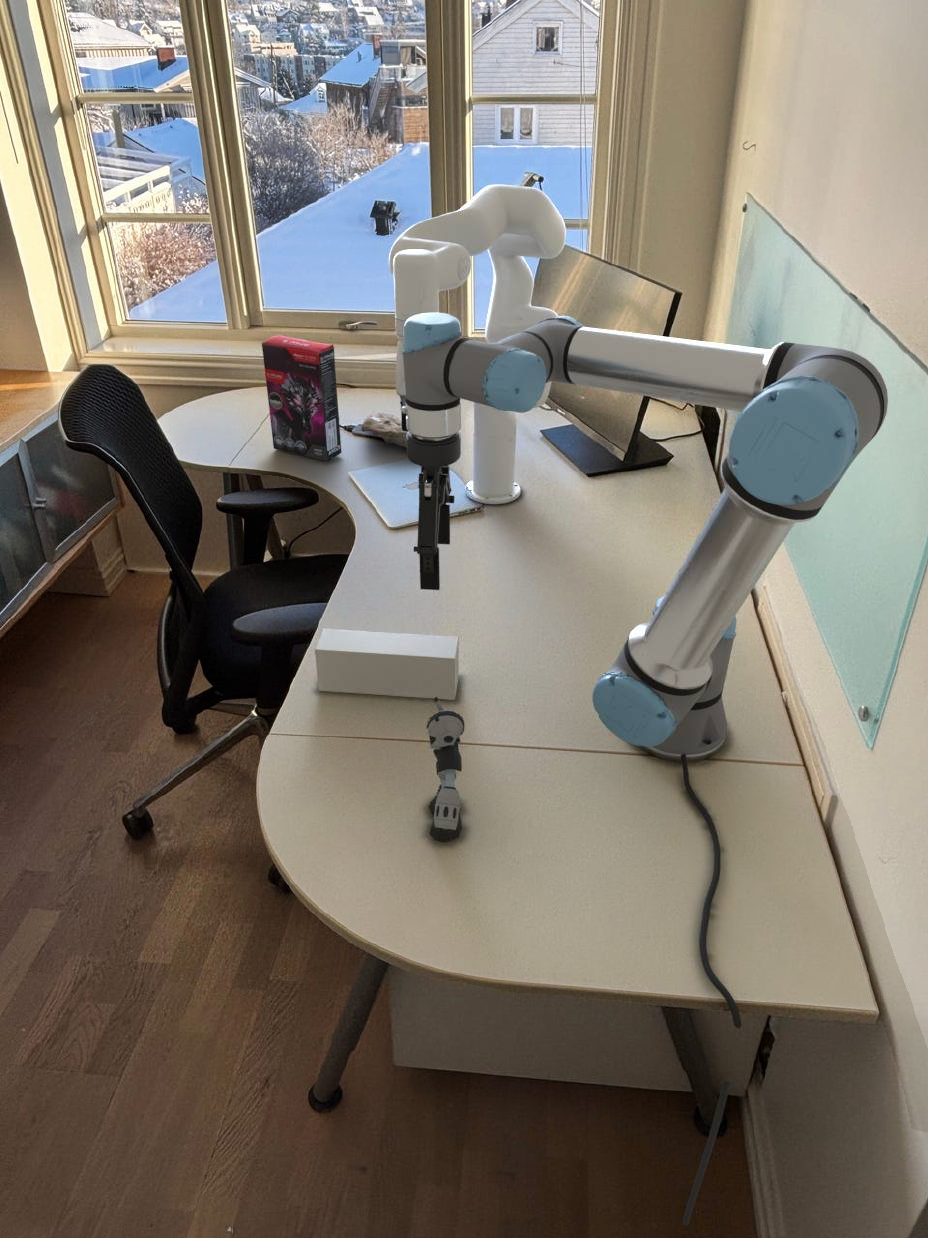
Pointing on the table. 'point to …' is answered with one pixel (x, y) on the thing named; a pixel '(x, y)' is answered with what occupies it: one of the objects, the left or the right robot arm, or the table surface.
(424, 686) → the bar
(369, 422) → the stone
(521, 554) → the table surface
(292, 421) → the graphics card box
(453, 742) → the robot
